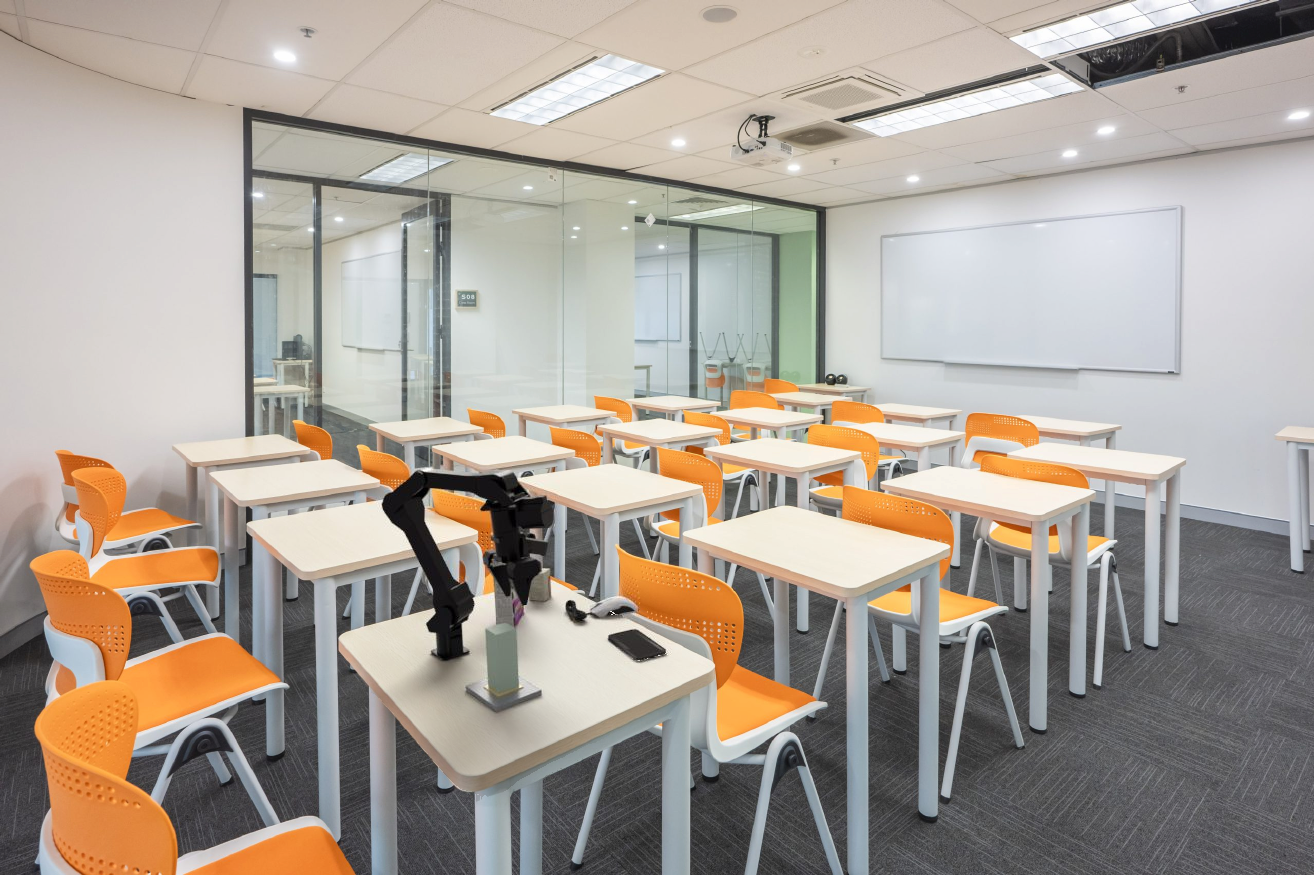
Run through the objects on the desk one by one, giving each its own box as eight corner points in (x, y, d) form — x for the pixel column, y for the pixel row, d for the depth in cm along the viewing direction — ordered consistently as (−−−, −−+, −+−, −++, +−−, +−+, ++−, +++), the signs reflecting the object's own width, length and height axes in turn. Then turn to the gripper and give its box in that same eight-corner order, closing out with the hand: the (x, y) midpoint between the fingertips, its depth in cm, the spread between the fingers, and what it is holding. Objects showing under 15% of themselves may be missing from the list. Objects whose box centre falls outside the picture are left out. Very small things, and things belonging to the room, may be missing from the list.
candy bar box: (505, 611, 188) (502, 549, 186) (524, 611, 188) (521, 549, 186) (494, 628, 177) (491, 563, 175) (515, 628, 177) (512, 562, 175)
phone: (635, 628, 173) (667, 650, 160) (635, 632, 173) (668, 655, 160) (605, 635, 169) (636, 658, 156) (606, 640, 170) (636, 663, 157)
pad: (465, 690, 145) (465, 684, 145) (510, 674, 152) (509, 669, 152) (496, 712, 136) (496, 706, 136) (541, 694, 143) (541, 688, 143)
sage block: (488, 686, 144) (485, 628, 143) (508, 679, 147) (505, 622, 145) (498, 694, 141) (495, 634, 139) (519, 687, 143) (516, 628, 142)
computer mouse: (643, 615, 184) (642, 600, 184) (572, 626, 179) (571, 610, 178) (631, 602, 194) (631, 588, 193) (564, 612, 188) (563, 597, 187)
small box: (552, 596, 199) (550, 568, 198) (545, 601, 195) (544, 573, 194) (535, 594, 200) (533, 567, 199) (528, 600, 196) (526, 571, 195)
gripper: (559, 527, 151) (569, 599, 153) (524, 516, 167) (533, 582, 169) (509, 539, 145) (519, 614, 147) (477, 527, 161) (487, 595, 163)
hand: (516, 600), depth 156 cm, fingers open, 9 cm apart
